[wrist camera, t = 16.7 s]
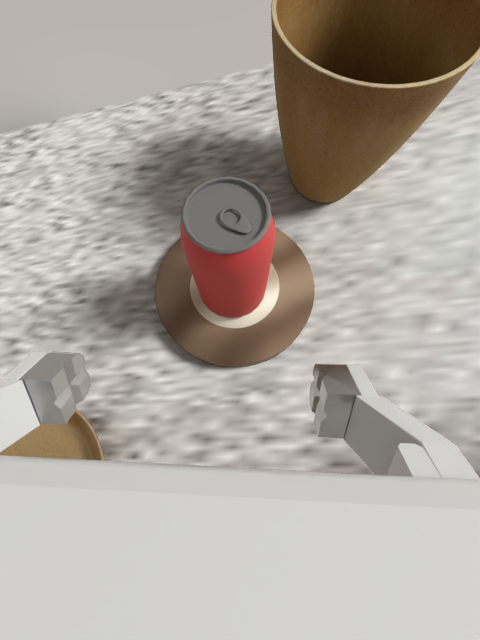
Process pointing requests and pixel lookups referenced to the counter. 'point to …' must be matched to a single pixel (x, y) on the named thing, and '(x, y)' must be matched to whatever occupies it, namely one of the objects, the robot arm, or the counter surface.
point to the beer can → (228, 244)
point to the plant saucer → (59, 441)
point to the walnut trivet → (247, 331)
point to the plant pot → (362, 81)
